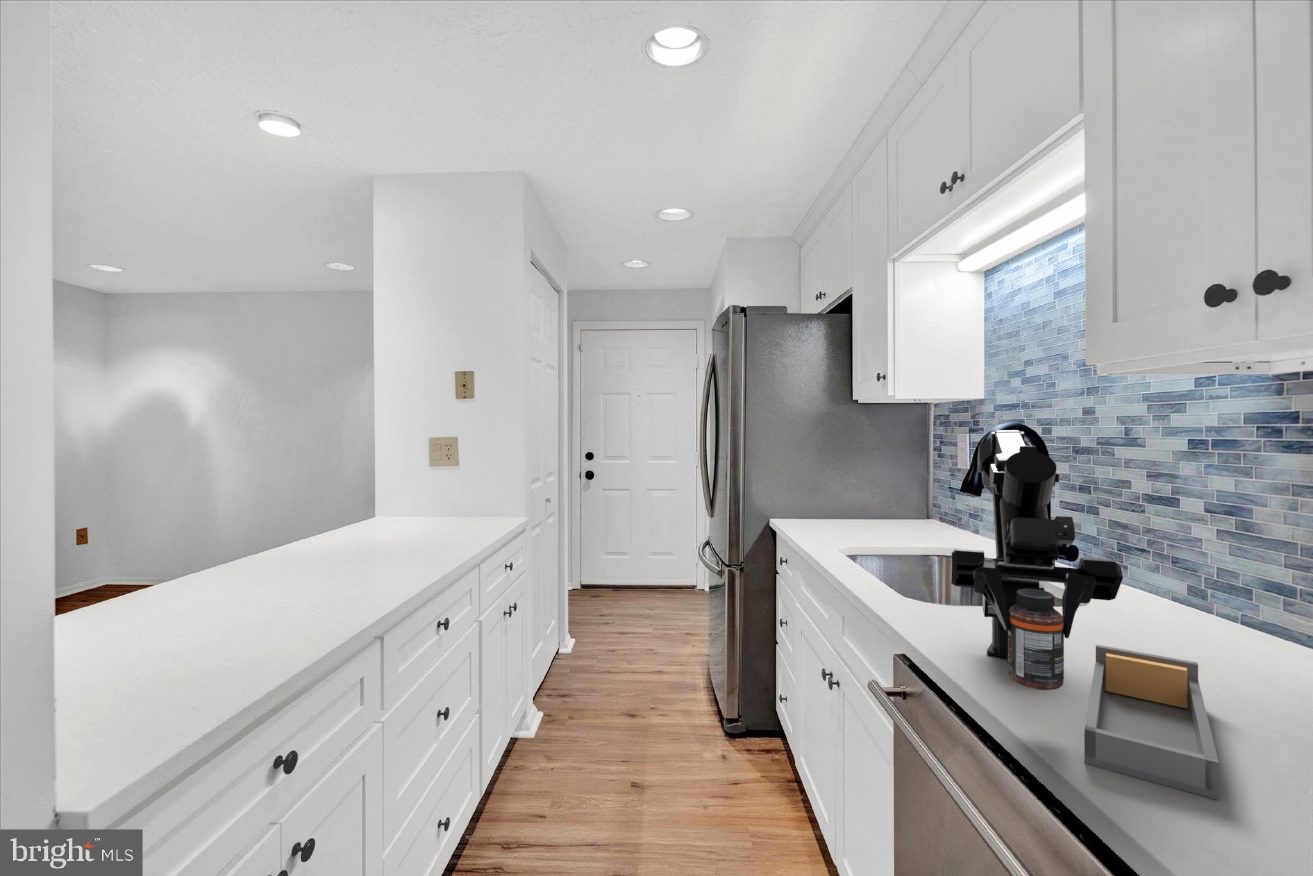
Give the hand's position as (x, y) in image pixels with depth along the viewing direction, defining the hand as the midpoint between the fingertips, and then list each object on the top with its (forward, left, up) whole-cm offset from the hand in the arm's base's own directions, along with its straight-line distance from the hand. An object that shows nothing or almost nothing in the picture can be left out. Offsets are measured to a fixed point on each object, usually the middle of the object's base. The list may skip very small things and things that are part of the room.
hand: (1036, 632), depth 74 cm
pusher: (-18, +11, -11) cm, 24 cm away
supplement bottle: (-1, 0, -7) cm, 7 cm away
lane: (-8, +11, -12) cm, 18 cm away
